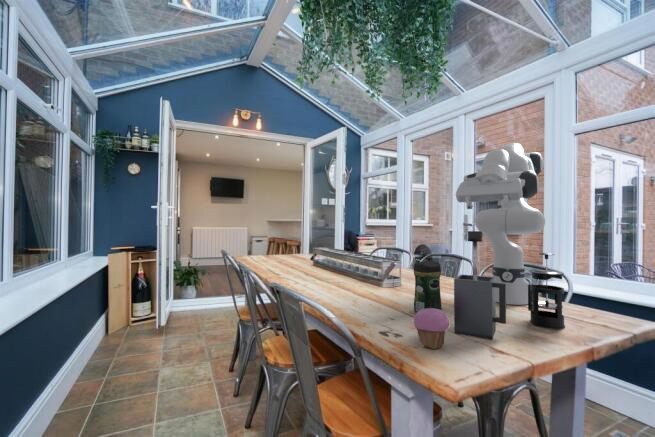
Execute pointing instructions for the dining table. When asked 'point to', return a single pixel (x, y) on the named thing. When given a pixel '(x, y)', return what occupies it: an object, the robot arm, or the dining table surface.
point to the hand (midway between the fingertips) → (484, 207)
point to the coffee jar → (427, 285)
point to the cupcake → (431, 327)
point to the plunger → (475, 248)
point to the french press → (546, 317)
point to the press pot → (478, 306)
